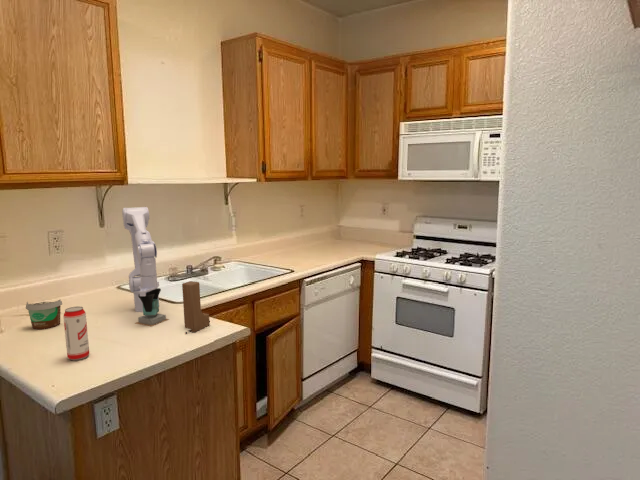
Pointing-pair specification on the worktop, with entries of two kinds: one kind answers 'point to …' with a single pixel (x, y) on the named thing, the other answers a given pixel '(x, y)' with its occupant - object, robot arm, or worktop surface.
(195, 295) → the wooden block
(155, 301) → the block
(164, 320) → the base slab
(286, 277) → the worktop surface
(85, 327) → the beer can
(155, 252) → the robot arm
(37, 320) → the food container
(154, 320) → the top slab
